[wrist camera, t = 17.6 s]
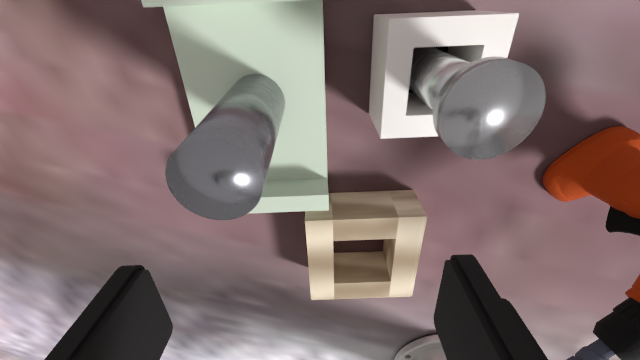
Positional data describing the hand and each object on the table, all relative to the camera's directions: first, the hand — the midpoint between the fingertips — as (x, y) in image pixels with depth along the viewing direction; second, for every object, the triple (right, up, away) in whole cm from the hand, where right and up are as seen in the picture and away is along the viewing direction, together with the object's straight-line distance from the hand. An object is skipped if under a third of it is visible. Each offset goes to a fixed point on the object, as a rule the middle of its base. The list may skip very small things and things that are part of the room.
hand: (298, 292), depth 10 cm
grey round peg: (-4, +9, +12) cm, 16 cm away
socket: (+5, -2, +21) cm, 22 cm away
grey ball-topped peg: (+8, +12, +12) cm, 19 cm away
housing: (+8, +12, +13) cm, 19 cm away
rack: (-4, +10, +14) cm, 17 cm away
